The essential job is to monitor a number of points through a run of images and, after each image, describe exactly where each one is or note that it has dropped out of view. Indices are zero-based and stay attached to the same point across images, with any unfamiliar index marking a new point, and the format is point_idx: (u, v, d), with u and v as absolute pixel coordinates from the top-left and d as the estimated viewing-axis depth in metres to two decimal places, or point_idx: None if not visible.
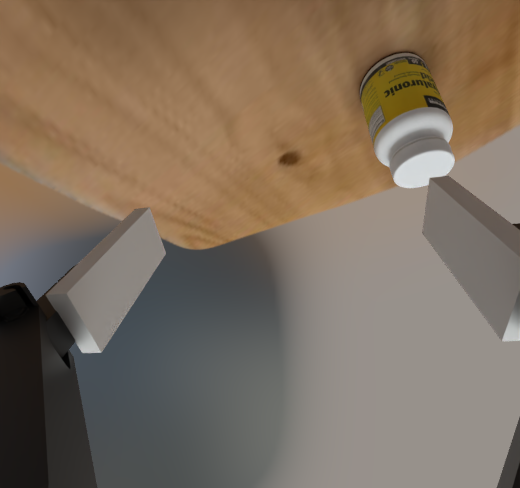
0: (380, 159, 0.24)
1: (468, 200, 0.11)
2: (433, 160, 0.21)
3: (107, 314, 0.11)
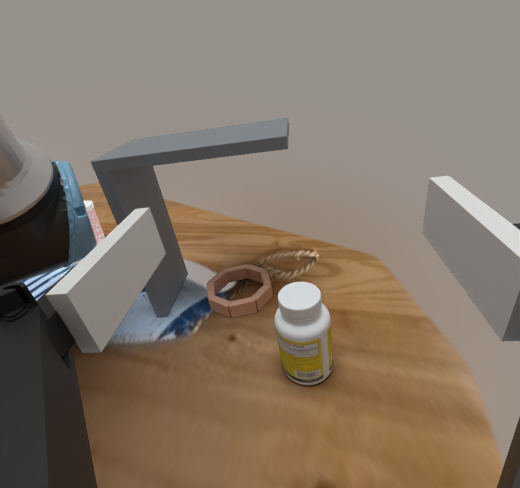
0: (296, 333, 0.28)
1: (468, 200, 0.11)
2: (292, 288, 0.29)
3: (107, 314, 0.11)
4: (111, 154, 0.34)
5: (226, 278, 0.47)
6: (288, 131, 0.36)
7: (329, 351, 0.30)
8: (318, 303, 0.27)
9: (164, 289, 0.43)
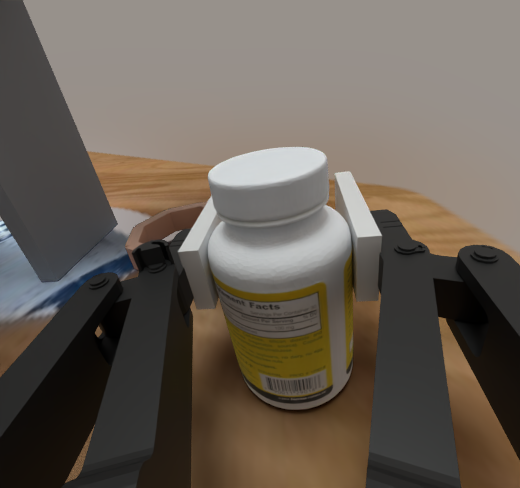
0: (256, 265, 0.09)
1: (350, 191, 0.13)
2: (250, 158, 0.11)
3: None
4: None
5: (169, 223, 0.29)
6: None
7: (348, 325, 0.12)
8: (320, 174, 0.09)
9: (53, 233, 0.25)
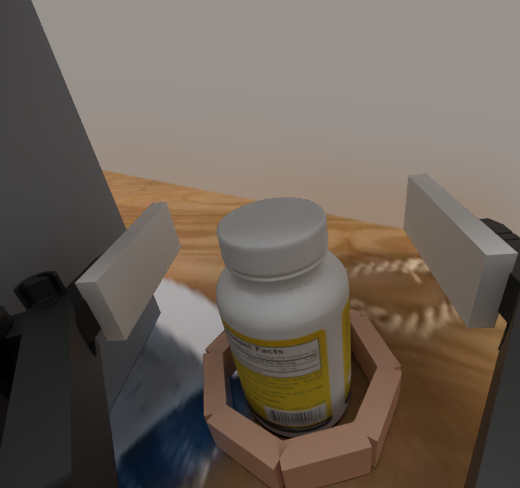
0: (262, 316, 0.10)
1: (441, 196, 0.11)
2: (255, 210, 0.12)
3: (130, 303, 0.12)
4: None
5: None
6: None
7: (346, 361, 0.13)
8: (319, 234, 0.10)
9: None
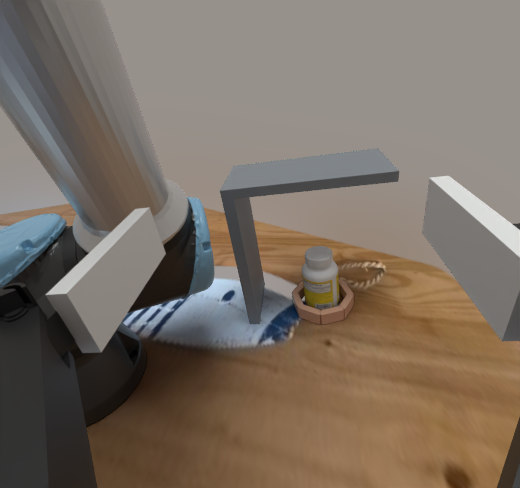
0: (317, 276, 0.44)
1: (468, 200, 0.11)
2: (313, 250, 0.46)
3: (107, 314, 0.11)
4: (232, 183, 0.39)
5: None
6: None
7: (337, 291, 0.47)
8: (330, 257, 0.44)
9: (257, 299, 0.48)
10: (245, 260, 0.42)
